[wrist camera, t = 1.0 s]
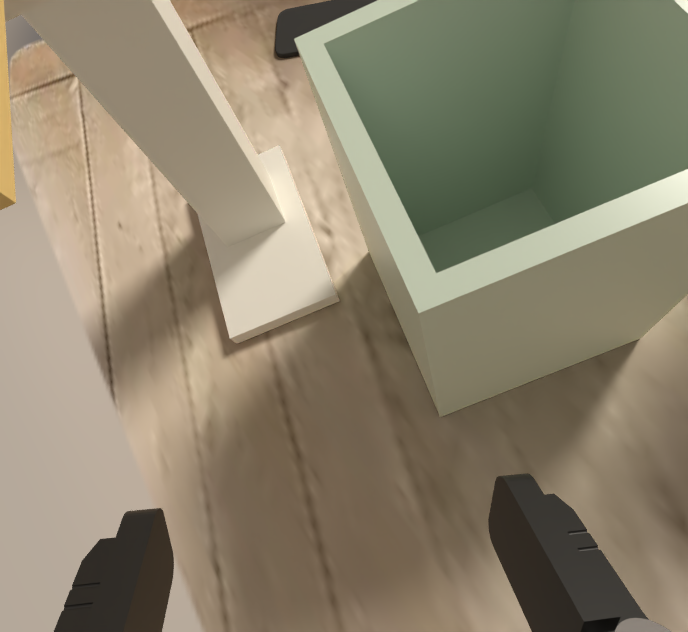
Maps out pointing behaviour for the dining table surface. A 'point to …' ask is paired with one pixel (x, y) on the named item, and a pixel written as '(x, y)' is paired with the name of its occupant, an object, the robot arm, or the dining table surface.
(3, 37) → the box
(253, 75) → the dining table surface
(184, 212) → the dining table surface
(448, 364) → the tote
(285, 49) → the phone
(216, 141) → the shelf stand
